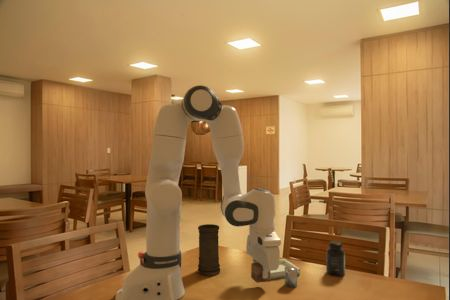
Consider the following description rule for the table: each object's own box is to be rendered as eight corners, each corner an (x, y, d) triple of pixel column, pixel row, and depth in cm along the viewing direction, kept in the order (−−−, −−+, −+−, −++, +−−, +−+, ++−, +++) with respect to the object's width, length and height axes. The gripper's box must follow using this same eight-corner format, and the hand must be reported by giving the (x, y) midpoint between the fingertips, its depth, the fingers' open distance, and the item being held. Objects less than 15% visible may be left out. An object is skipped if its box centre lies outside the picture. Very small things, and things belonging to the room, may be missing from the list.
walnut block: (256, 282, 114) (257, 268, 114) (251, 277, 119) (251, 263, 119) (270, 281, 116) (270, 266, 116) (263, 276, 121) (264, 262, 121)
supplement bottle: (348, 274, 129) (348, 243, 129) (336, 278, 126) (335, 246, 126) (335, 268, 135) (335, 239, 135) (322, 272, 132) (322, 241, 132)
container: (217, 276, 127) (217, 229, 127) (194, 275, 129) (194, 228, 129) (222, 268, 136) (222, 224, 136) (201, 266, 138) (200, 223, 138)
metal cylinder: (288, 288, 117) (288, 271, 117) (282, 283, 121) (282, 267, 121) (299, 286, 118) (299, 269, 118) (293, 281, 122) (293, 265, 122)
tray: (267, 279, 124) (267, 273, 124) (253, 268, 135) (253, 262, 135) (300, 275, 129) (300, 268, 129) (284, 264, 140) (284, 258, 140)
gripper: (242, 228, 126) (241, 264, 126) (265, 243, 107) (264, 286, 107) (258, 227, 128) (257, 263, 128) (283, 242, 109) (282, 284, 109)
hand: (260, 274), depth 117 cm, fingers closed on walnut block, 5 cm apart
